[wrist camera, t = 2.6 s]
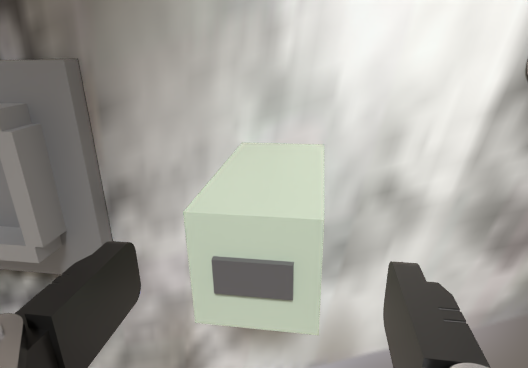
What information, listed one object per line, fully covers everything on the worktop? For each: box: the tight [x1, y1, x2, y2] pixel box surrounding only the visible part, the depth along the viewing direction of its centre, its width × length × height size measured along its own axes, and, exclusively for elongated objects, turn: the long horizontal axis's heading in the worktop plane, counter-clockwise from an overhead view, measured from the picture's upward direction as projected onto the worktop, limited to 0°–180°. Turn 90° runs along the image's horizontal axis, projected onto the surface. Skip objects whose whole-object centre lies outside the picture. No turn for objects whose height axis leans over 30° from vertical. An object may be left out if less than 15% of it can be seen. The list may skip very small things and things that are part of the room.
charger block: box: [183, 143, 324, 335], centre depth 14 cm, size 4×4×8 cm
